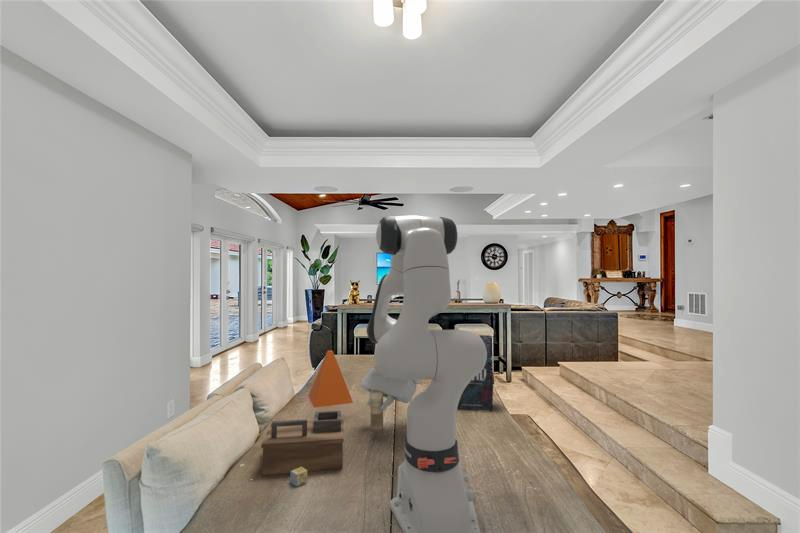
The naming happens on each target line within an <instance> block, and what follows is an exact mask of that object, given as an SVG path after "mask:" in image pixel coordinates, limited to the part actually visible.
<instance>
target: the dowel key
mask: <svg viewBox="0 0 800 533" xmlns="http://www.w3.org/2000/svg"><path fill="white" fill-rule="evenodd" d="M381 403H384V397H383V392H382V391H378V390H375V391H371V406H370V432H371V433H373V434H374V433H375V434H379V433H382V432H383V431H384V411H383V410H380V409H379V406H380V404H381Z"/></svg>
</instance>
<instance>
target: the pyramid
mask: <svg viewBox="0 0 800 533" xmlns="http://www.w3.org/2000/svg"><path fill="white" fill-rule="evenodd" d="M337 360H338V359H337V358H336V355H335V353H334V351H333V350H327V351H326V354H325V355H324V357H323V360H322V362H321V365H320V367H319V370H318V371H317V374H316V377H315V379H314V381H313V383H312V385H311V388H310V390H309V392H308V398H309V400H310V402H311V406H312V407H313V408H315V409H316V408H321V407H329V406H330V407H331V406H337V405H338V406H339V405H345V404H346V405H347V404H352V403H354V401H353V399H352V396H351V394H350V391H349V389H348V386H347V384H346V381H345V379H344V376H343V374H342V370H341V368H340V366H339V364H338V361H337Z"/></svg>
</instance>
